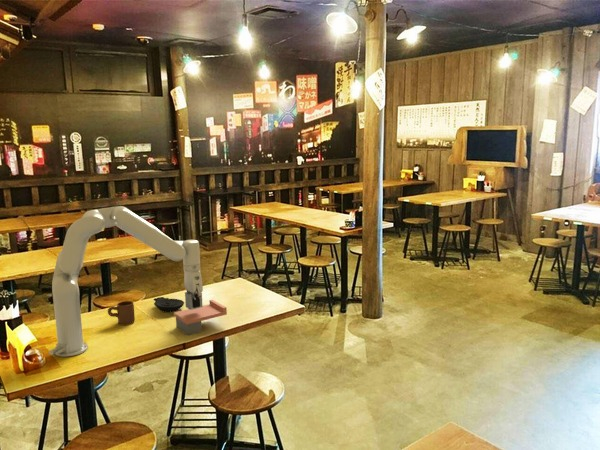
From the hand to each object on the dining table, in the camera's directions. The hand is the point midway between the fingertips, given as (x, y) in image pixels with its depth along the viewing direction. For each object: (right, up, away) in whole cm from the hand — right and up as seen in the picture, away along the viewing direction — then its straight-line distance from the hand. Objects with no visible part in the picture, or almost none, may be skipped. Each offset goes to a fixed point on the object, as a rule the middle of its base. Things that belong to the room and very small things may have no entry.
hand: (193, 305), depth 228 cm
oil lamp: (-19, -7, +27) cm, 34 cm away
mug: (-36, -10, +8) cm, 38 cm away
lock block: (0, -1, 0) cm, 1 cm away
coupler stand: (+2, -11, +4) cm, 11 cm away
